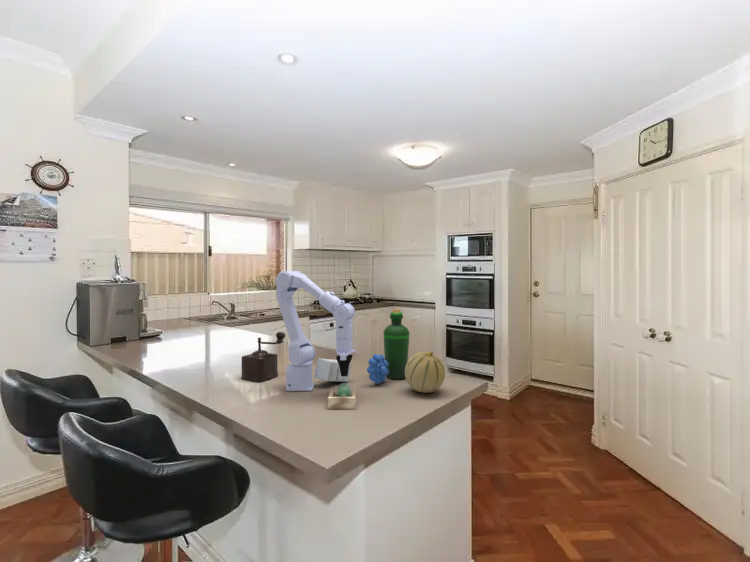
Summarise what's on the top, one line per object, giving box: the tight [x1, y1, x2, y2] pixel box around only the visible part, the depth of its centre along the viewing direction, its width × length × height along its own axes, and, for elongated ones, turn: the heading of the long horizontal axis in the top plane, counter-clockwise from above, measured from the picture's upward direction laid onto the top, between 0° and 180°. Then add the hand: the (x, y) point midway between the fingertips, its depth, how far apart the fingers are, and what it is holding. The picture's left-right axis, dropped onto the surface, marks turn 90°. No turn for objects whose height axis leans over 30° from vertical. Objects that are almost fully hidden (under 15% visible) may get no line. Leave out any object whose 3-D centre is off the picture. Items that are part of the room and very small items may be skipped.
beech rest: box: [327, 388, 358, 410], centre depth 136 cm, size 9×13×4 cm
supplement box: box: [313, 357, 352, 383], centre depth 157 cm, size 7×7×13 cm
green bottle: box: [336, 382, 352, 397], centre depth 138 cm, size 4×4×11 cm
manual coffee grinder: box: [241, 331, 286, 384], centre depth 167 cm, size 16×11×18 cm
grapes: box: [366, 353, 389, 385], centre depth 156 cm, size 12×7×12 cm, turn 138°
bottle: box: [383, 308, 410, 381], centre depth 166 cm, size 11×11×28 cm
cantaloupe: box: [404, 350, 446, 394], centre depth 147 cm, size 15×15×15 cm
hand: (344, 375), depth 145 cm, fingers closed
